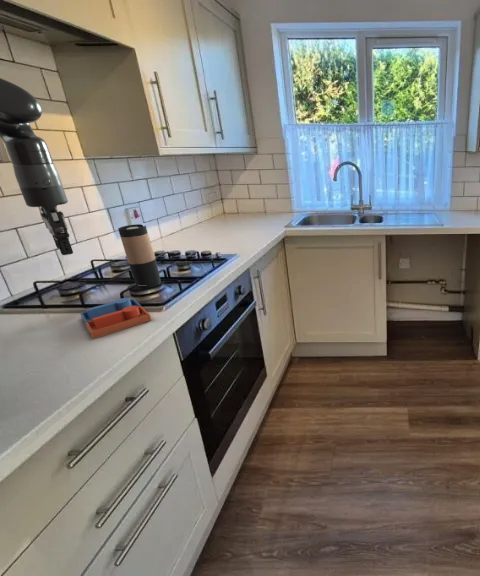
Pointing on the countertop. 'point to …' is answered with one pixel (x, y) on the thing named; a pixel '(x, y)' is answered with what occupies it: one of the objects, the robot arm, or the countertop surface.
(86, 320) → the blue tray
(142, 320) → the terracotta tray
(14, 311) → the countertop surface
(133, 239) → the travel mug
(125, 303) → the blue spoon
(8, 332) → the countertop surface
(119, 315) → the orange elongated piece
